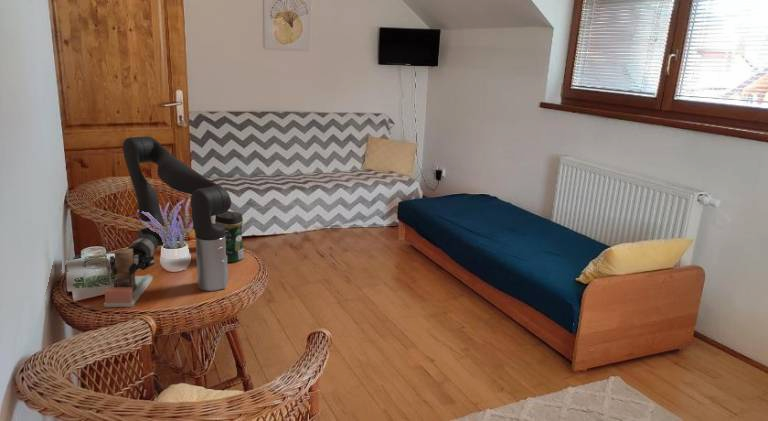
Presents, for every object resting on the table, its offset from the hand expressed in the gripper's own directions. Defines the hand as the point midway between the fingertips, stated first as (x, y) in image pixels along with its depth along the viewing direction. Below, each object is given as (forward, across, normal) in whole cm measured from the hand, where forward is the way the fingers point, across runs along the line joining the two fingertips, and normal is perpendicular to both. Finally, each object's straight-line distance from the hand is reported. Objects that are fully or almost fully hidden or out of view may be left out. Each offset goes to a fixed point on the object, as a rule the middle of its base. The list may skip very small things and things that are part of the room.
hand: (122, 271), depth 167 cm
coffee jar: (-35, +26, +9) cm, 45 cm away
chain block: (-2, 0, +7) cm, 8 cm away
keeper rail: (-5, 0, +9) cm, 10 cm away
